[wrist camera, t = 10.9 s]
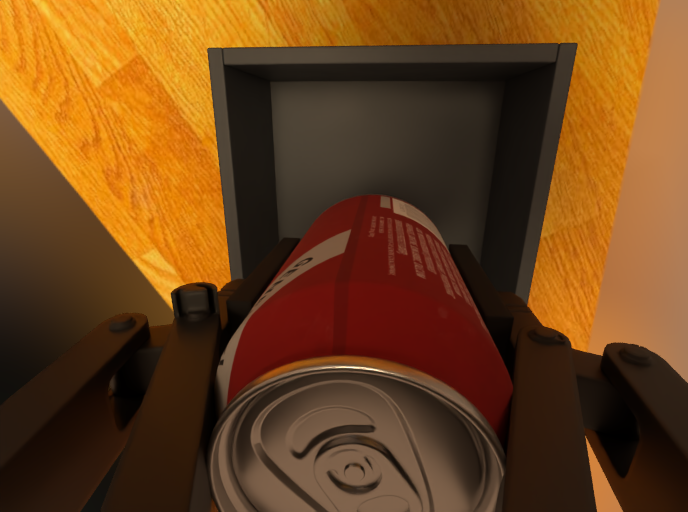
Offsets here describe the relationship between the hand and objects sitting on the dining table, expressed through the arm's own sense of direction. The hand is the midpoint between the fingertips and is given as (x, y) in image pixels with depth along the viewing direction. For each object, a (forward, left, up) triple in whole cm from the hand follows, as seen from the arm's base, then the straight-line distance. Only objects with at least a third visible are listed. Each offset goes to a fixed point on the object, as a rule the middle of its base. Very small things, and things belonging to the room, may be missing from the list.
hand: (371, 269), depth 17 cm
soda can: (0, 0, -1) cm, 1 cm away
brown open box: (0, 0, -13) cm, 13 cm away
